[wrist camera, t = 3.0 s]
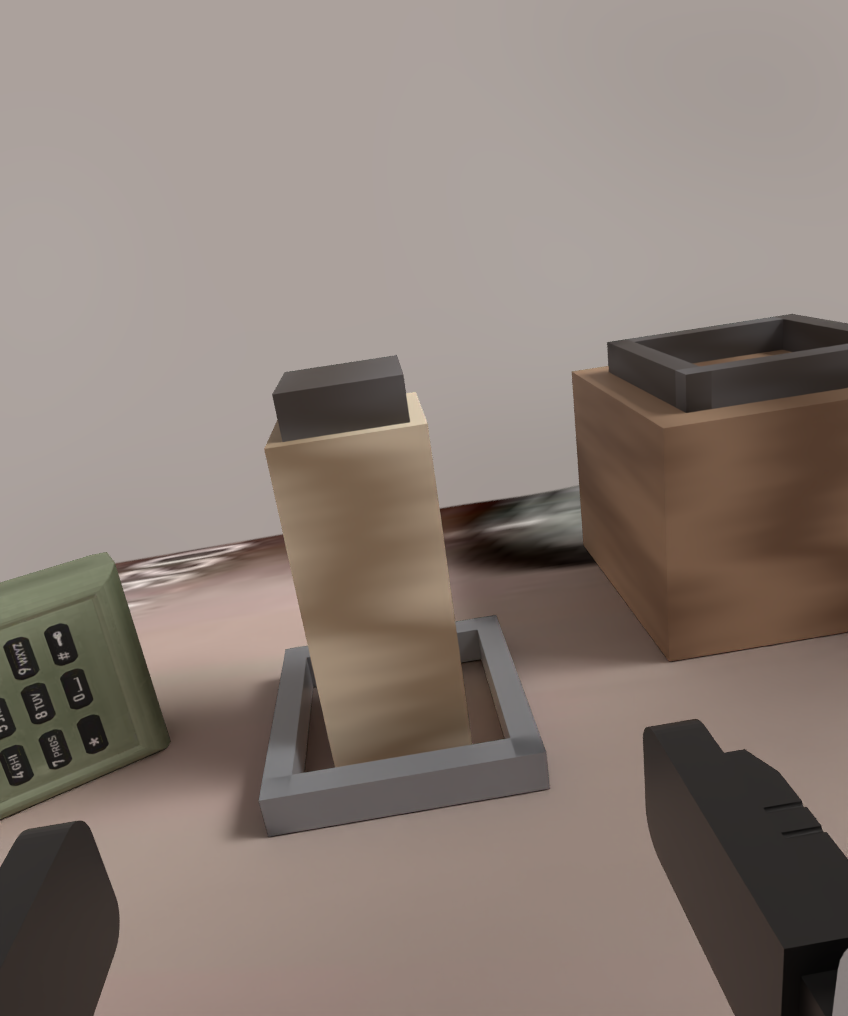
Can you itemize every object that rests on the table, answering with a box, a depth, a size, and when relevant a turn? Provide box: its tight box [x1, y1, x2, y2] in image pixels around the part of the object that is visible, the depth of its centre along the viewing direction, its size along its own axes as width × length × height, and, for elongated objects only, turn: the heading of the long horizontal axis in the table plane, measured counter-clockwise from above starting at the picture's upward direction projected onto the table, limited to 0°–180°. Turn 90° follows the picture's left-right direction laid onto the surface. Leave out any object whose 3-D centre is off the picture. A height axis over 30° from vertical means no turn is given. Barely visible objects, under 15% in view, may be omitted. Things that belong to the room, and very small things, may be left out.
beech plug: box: [265, 355, 472, 767], centre depth 21 cm, size 4×4×11 cm
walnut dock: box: [572, 314, 848, 662], centre depth 28 cm, size 10×10×9 cm
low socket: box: [259, 615, 550, 837], centre depth 23 cm, size 8×8×1 cm
